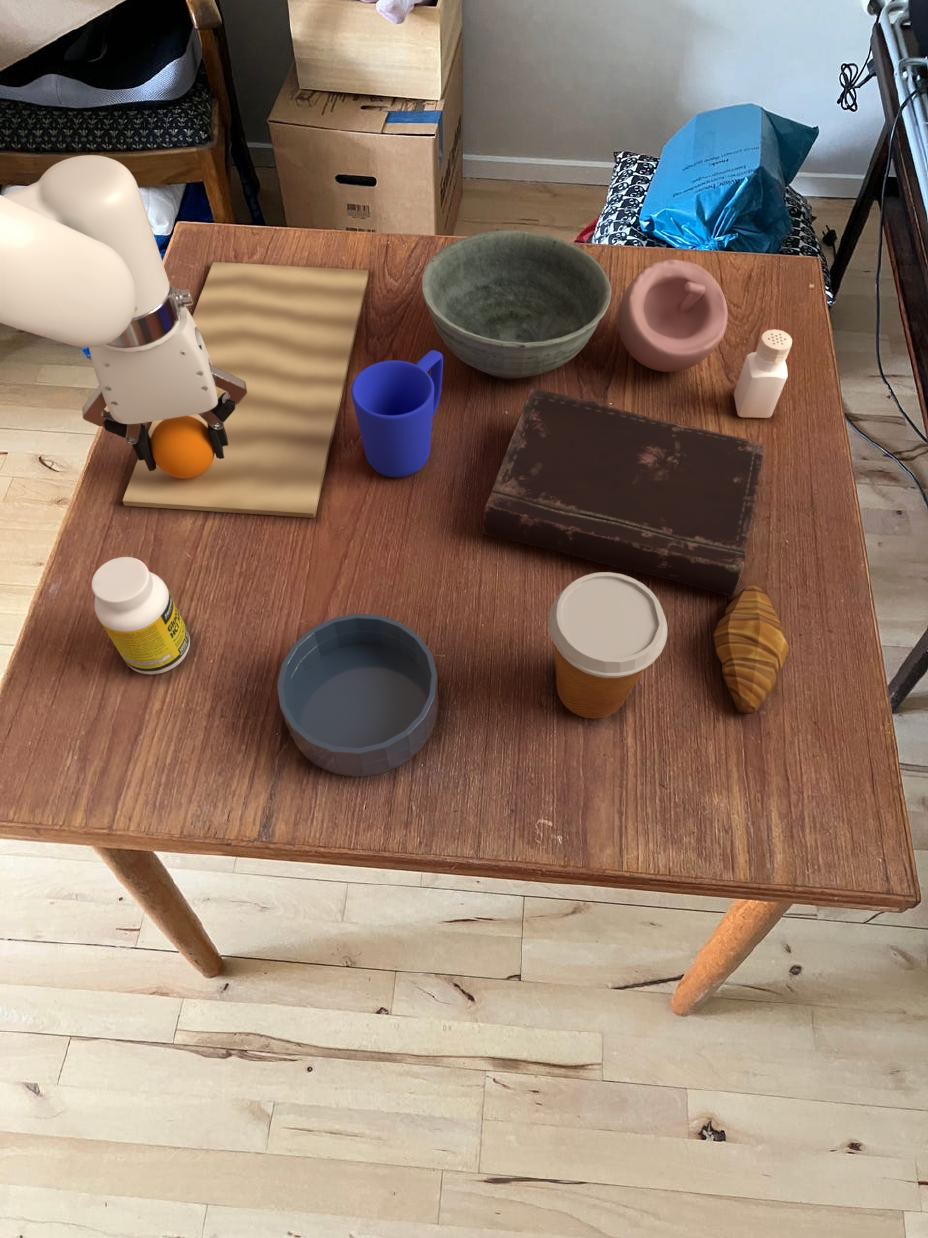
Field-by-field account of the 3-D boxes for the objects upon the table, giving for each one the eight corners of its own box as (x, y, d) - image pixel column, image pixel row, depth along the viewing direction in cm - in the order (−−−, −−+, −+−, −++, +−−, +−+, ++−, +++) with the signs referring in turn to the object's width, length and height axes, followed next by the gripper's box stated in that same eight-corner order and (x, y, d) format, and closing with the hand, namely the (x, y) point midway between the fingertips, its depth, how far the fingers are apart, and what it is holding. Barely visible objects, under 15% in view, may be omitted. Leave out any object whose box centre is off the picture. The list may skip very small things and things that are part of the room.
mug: (470, 429, 97) (471, 357, 89) (407, 498, 92) (402, 429, 83) (410, 400, 100) (405, 328, 91) (345, 466, 94) (333, 395, 86)
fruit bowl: (298, 792, 74) (289, 769, 70) (278, 659, 81) (268, 630, 77) (453, 757, 76) (452, 732, 72) (420, 630, 83) (418, 600, 79)
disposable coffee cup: (623, 752, 76) (648, 685, 66) (522, 710, 79) (531, 640, 68) (657, 665, 81) (685, 591, 71) (561, 629, 83) (575, 551, 73)
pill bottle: (198, 664, 81) (164, 596, 72) (130, 686, 80) (87, 619, 70) (184, 611, 84) (150, 540, 75) (119, 632, 83) (76, 561, 74)
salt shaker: (766, 395, 101) (793, 326, 93) (772, 420, 98) (799, 352, 90) (731, 394, 101) (754, 325, 93) (736, 419, 98) (760, 351, 90)
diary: (729, 604, 85) (743, 574, 81) (481, 542, 89) (482, 509, 85) (754, 467, 94) (768, 433, 90) (530, 416, 98) (533, 381, 94)
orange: (156, 493, 90) (147, 447, 85) (153, 450, 94) (144, 403, 89) (220, 488, 92) (215, 443, 87) (215, 446, 95) (209, 400, 90)
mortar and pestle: (641, 405, 100) (660, 321, 90) (593, 339, 106) (606, 254, 96) (732, 378, 102) (760, 293, 92) (681, 315, 108) (702, 230, 98)
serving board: (314, 518, 90) (313, 513, 90) (124, 505, 91) (121, 500, 91) (368, 275, 112) (368, 269, 111) (214, 266, 113) (212, 261, 112)
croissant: (711, 589, 86) (724, 558, 82) (782, 601, 85) (799, 571, 81) (703, 711, 79) (717, 684, 74) (780, 725, 78) (798, 699, 74)
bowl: (407, 403, 100) (402, 331, 91) (442, 288, 111) (441, 214, 102) (590, 427, 98) (602, 355, 89) (607, 307, 109) (619, 234, 100)
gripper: (228, 269, 79) (265, 416, 95) (29, 298, 77) (100, 443, 92) (236, 322, 75) (273, 466, 91) (27, 354, 73) (101, 497, 88)
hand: (185, 454), depth 91 cm, fingers closed on orange, 6 cm apart
